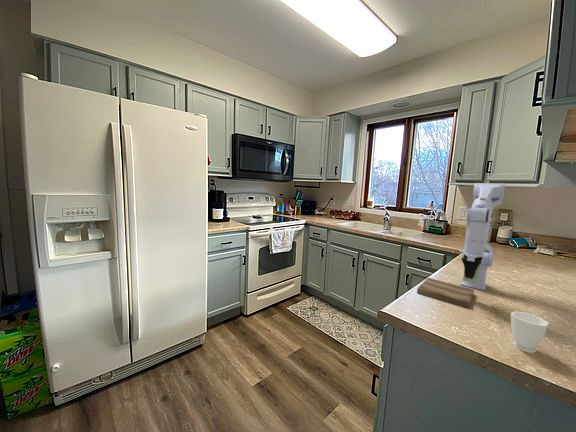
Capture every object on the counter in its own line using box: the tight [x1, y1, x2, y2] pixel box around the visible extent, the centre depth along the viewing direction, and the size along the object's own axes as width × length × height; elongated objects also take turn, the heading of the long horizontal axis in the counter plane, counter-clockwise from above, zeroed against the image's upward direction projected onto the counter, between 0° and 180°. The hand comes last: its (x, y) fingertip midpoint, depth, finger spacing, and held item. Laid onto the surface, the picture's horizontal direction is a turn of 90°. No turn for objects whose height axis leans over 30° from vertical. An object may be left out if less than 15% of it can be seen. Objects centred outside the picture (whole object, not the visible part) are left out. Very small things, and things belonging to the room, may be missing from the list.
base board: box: [416, 277, 475, 309], centre depth 94 cm, size 16×16×2 cm
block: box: [462, 265, 480, 284], centre depth 89 cm, size 4×4×6 cm
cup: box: [510, 310, 550, 354], centre depth 63 cm, size 7×10×8 cm
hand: (469, 276), depth 90 cm, fingers closed on block, 4 cm apart
